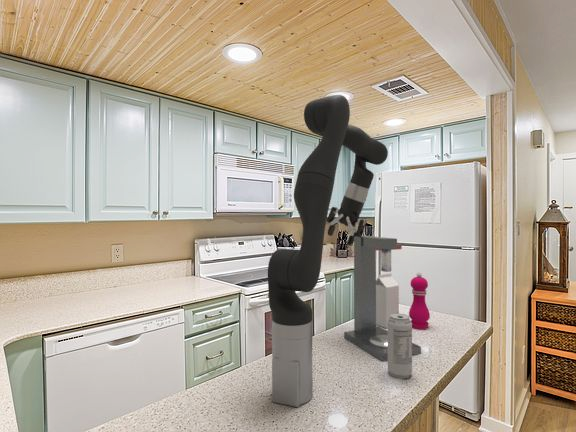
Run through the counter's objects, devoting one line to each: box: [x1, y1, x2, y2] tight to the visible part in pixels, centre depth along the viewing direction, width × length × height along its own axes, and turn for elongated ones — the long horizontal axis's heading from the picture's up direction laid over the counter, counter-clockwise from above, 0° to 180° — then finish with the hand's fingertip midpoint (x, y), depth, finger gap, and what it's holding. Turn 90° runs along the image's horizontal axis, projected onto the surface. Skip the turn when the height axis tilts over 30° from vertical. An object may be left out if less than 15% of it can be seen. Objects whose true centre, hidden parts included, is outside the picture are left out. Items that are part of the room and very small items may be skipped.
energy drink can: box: [387, 313, 413, 379], centre depth 88 cm, size 6×6×15 cm
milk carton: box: [376, 272, 400, 329], centre depth 128 cm, size 7×7×19 cm
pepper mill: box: [408, 272, 431, 330], centre depth 125 cm, size 7×7×20 cm
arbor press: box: [343, 235, 422, 362], centre depth 109 cm, size 20×22×34 cm
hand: (339, 240), depth 122 cm, fingers open, 8 cm apart
